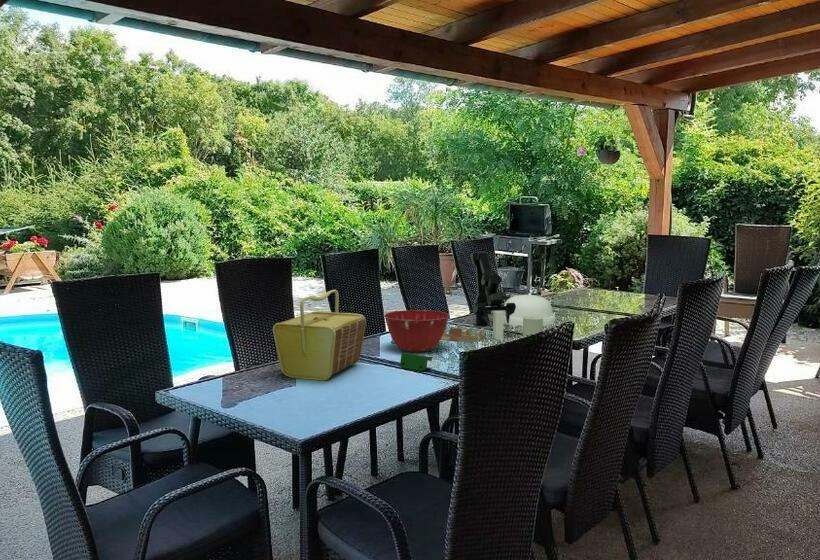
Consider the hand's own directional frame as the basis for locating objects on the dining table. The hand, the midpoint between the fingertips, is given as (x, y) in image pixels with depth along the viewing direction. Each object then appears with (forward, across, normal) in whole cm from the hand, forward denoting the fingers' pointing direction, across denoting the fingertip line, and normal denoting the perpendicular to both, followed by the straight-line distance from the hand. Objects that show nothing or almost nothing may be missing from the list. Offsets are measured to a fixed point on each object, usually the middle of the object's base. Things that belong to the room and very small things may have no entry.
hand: (498, 323), depth 294 cm
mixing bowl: (+16, -41, -5) cm, 44 cm away
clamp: (+39, -45, -28) cm, 66 cm away
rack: (+3, -18, +8) cm, 19 cm away
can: (+12, +14, -1) cm, 18 cm away
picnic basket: (+38, -82, -27) cm, 94 cm away
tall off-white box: (+5, 0, +6) cm, 8 cm away
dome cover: (-25, +27, +36) cm, 51 cm away
